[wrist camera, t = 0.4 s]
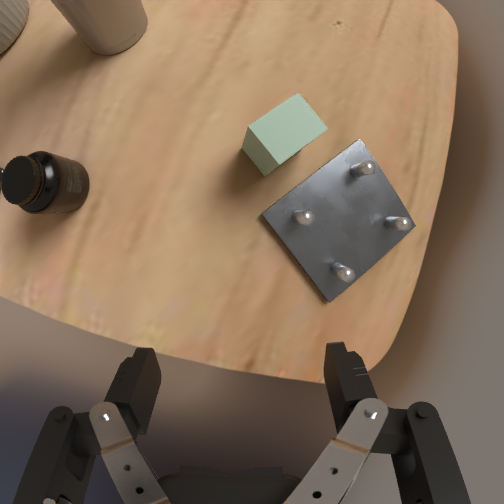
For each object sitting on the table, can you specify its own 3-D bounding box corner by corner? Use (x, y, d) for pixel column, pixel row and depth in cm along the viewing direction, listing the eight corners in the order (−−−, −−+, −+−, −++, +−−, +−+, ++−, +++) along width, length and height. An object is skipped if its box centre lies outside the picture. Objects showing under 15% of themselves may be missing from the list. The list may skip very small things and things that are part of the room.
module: (241, 147, 36) (248, 126, 26) (279, 120, 36) (298, 92, 26) (264, 176, 37) (279, 164, 27) (302, 148, 37) (328, 129, 27)
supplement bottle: (48, 214, 35) (-7, 217, 23) (49, 163, 34) (-4, 150, 22) (90, 211, 36) (42, 213, 24) (92, 158, 35) (45, 140, 23)
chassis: (260, 213, 38) (266, 214, 32) (356, 140, 37) (373, 132, 32) (326, 300, 40) (340, 312, 35) (411, 225, 40) (432, 227, 34)
